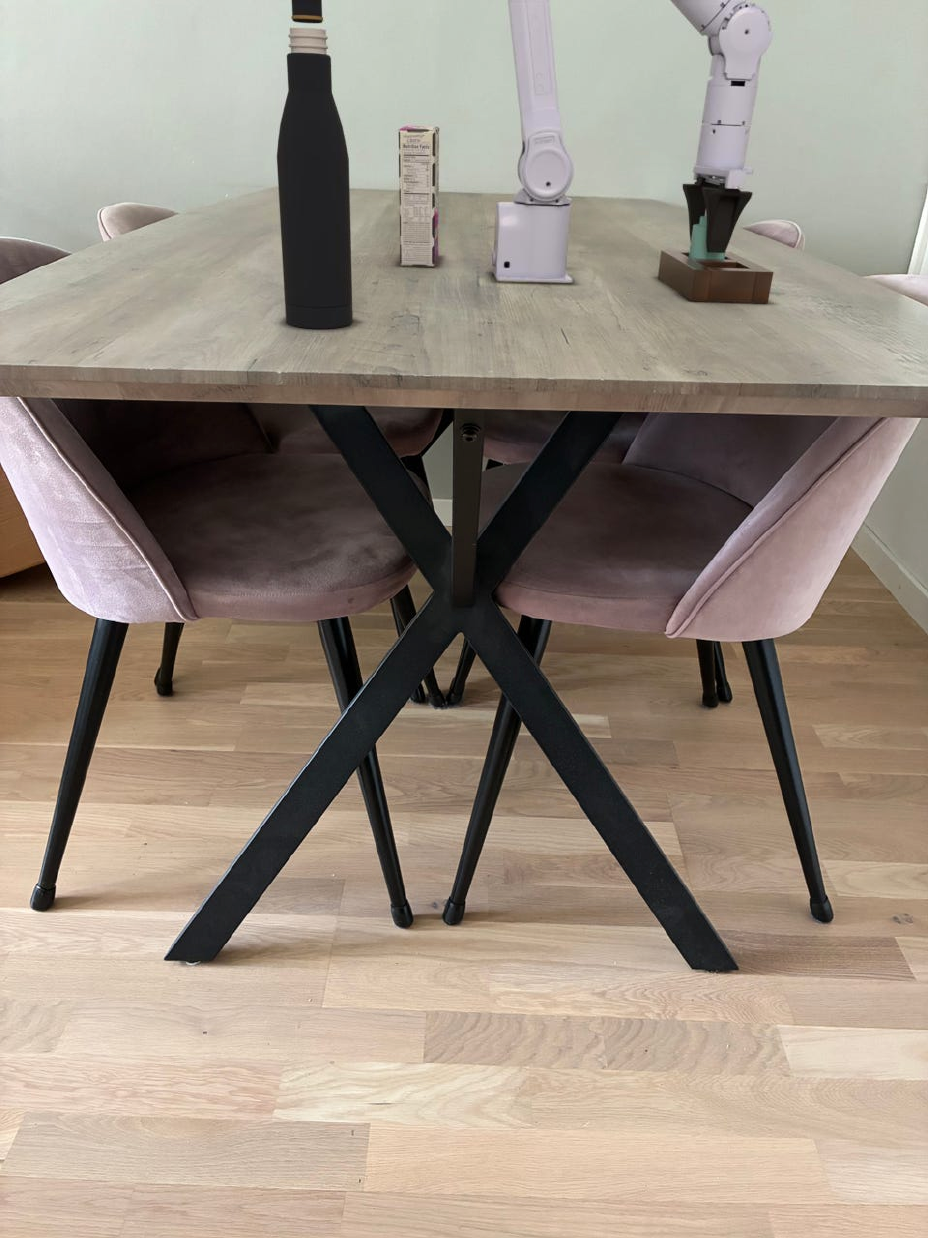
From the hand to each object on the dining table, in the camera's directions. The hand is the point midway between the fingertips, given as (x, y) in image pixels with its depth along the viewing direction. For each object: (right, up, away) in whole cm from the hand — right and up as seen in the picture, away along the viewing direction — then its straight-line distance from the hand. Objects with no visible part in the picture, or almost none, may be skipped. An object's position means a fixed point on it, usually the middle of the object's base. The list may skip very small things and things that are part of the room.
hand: (707, 248), depth 115 cm
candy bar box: (-37, +3, +12) cm, 39 cm away
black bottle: (-45, -18, -25) cm, 54 cm away
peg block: (0, -6, -1) cm, 6 cm away
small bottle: (0, -4, +2) cm, 4 cm away
